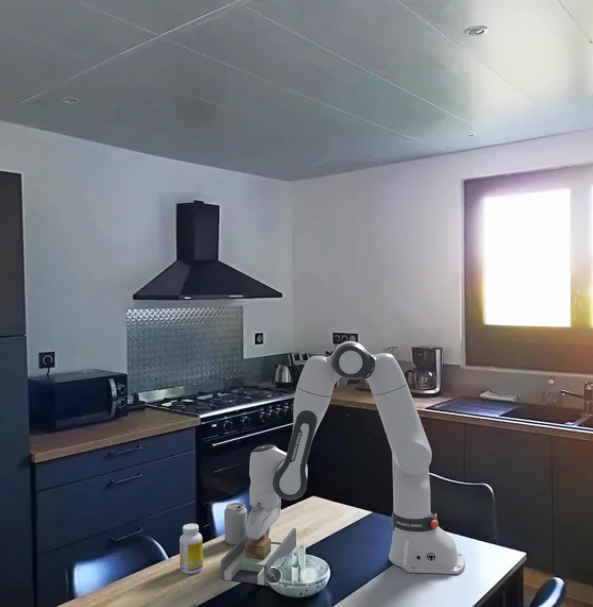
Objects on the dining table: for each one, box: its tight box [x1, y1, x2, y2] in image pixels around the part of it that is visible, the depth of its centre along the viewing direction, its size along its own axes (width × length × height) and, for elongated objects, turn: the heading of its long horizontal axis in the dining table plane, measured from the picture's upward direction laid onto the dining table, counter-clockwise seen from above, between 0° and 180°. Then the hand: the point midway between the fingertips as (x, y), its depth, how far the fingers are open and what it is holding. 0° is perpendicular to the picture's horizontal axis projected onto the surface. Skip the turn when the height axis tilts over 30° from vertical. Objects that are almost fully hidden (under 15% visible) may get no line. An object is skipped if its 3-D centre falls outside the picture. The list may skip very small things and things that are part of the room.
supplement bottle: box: [179, 523, 204, 575], centre depth 175 cm, size 7×7×13 cm
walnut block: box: [245, 537, 272, 560], centre depth 179 cm, size 6×6×4 cm
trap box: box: [220, 527, 297, 587], centre depth 180 cm, size 14×28×6 cm, turn 163°
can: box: [223, 502, 248, 546], centre depth 194 cm, size 8×8×12 cm
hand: (264, 542), depth 183 cm, fingers closed
